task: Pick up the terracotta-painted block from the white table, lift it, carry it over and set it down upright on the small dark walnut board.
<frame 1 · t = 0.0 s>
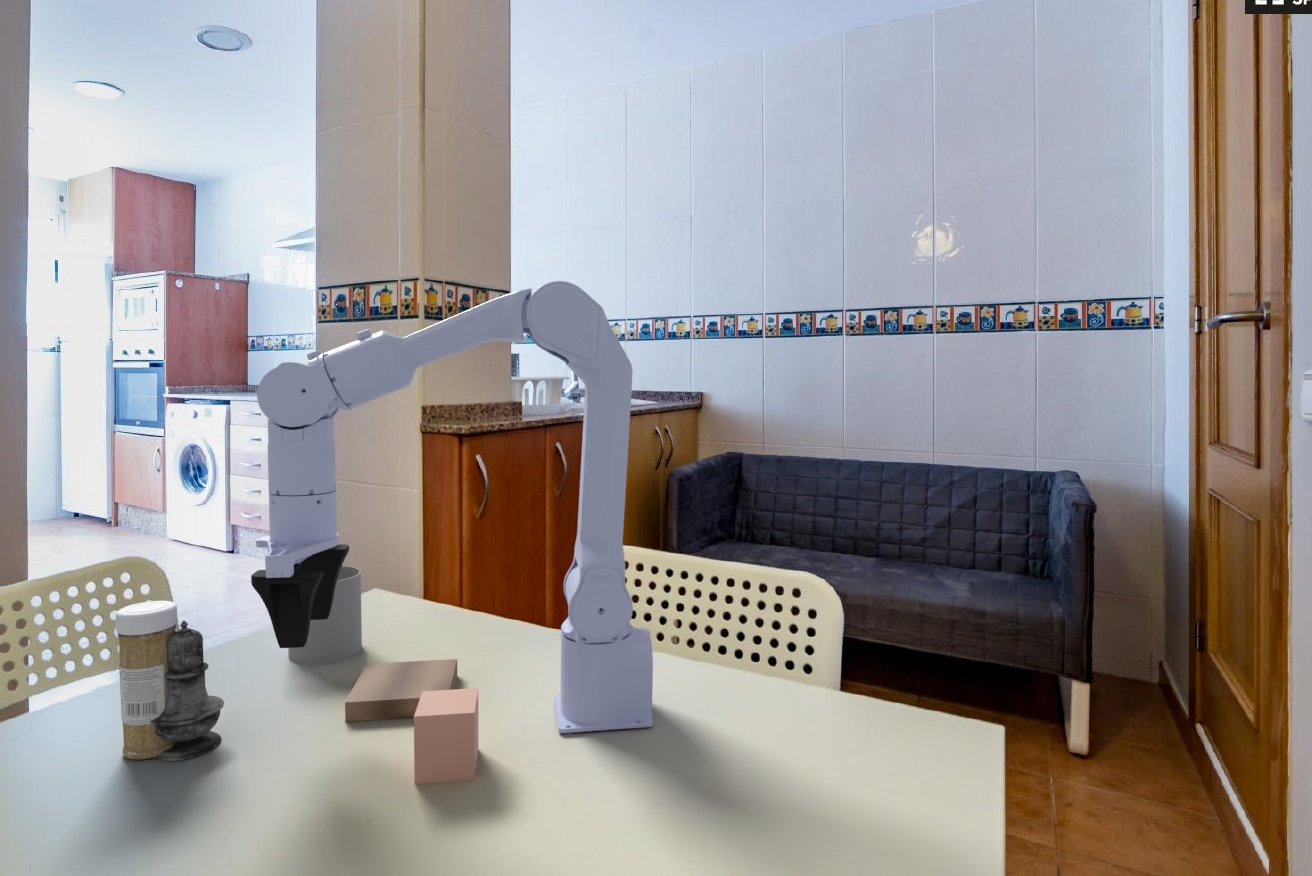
hand: (305, 631, 68), 10 cm above the table, tool pointing down, fingers open, 7 cm apart
sprinkles bottle: (152, 751, 65), on the table, touching salt shaker
cup: (326, 653, 90), on the table
board: (405, 696, 77), on the table
salt shaker: (188, 748, 66), on the table, touching sprinkles bottle
block: (447, 766, 63), on the table
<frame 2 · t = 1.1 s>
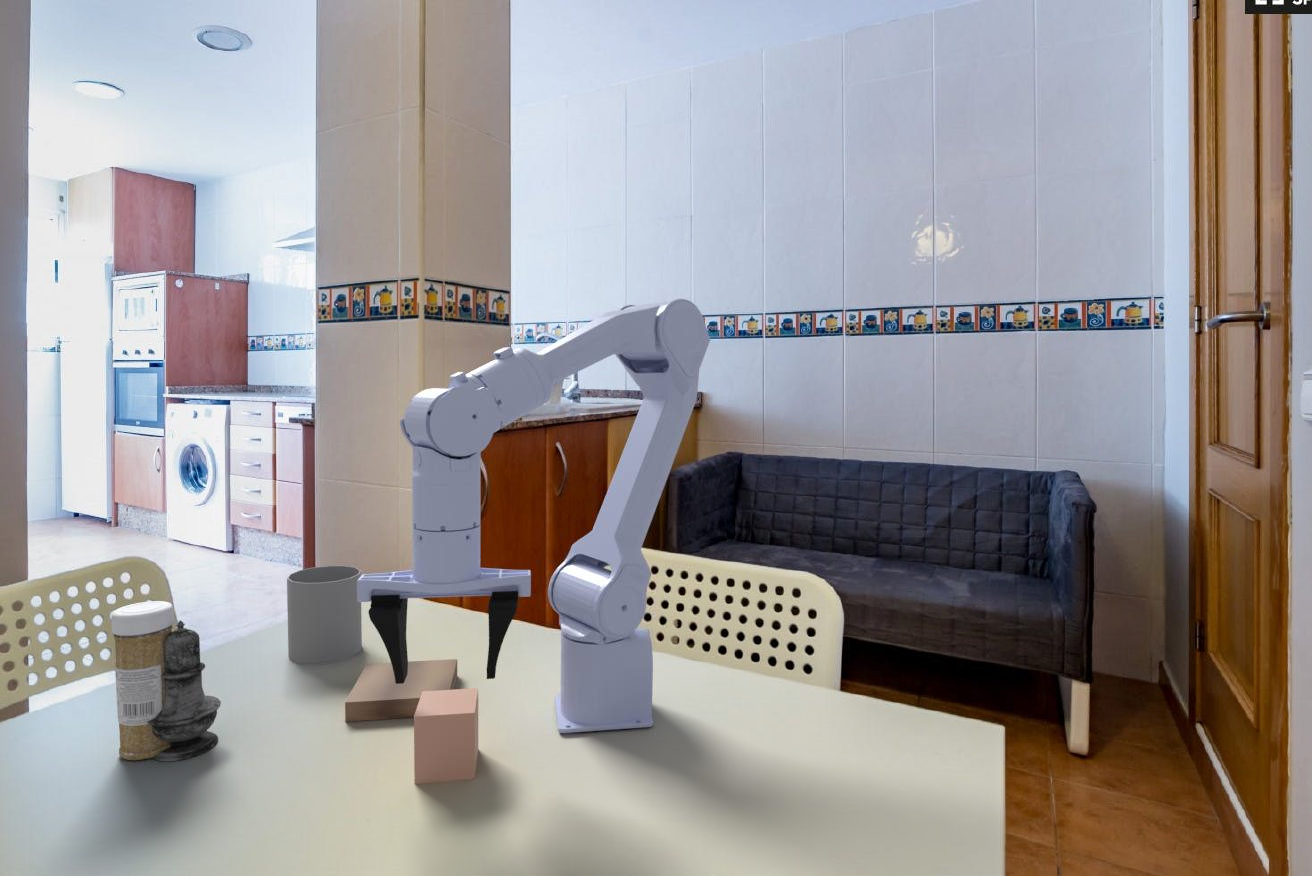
hand: (446, 676, 63), 8 cm above the table, tool pointing down, fingers open, 7 cm apart
nothing on the table moved.
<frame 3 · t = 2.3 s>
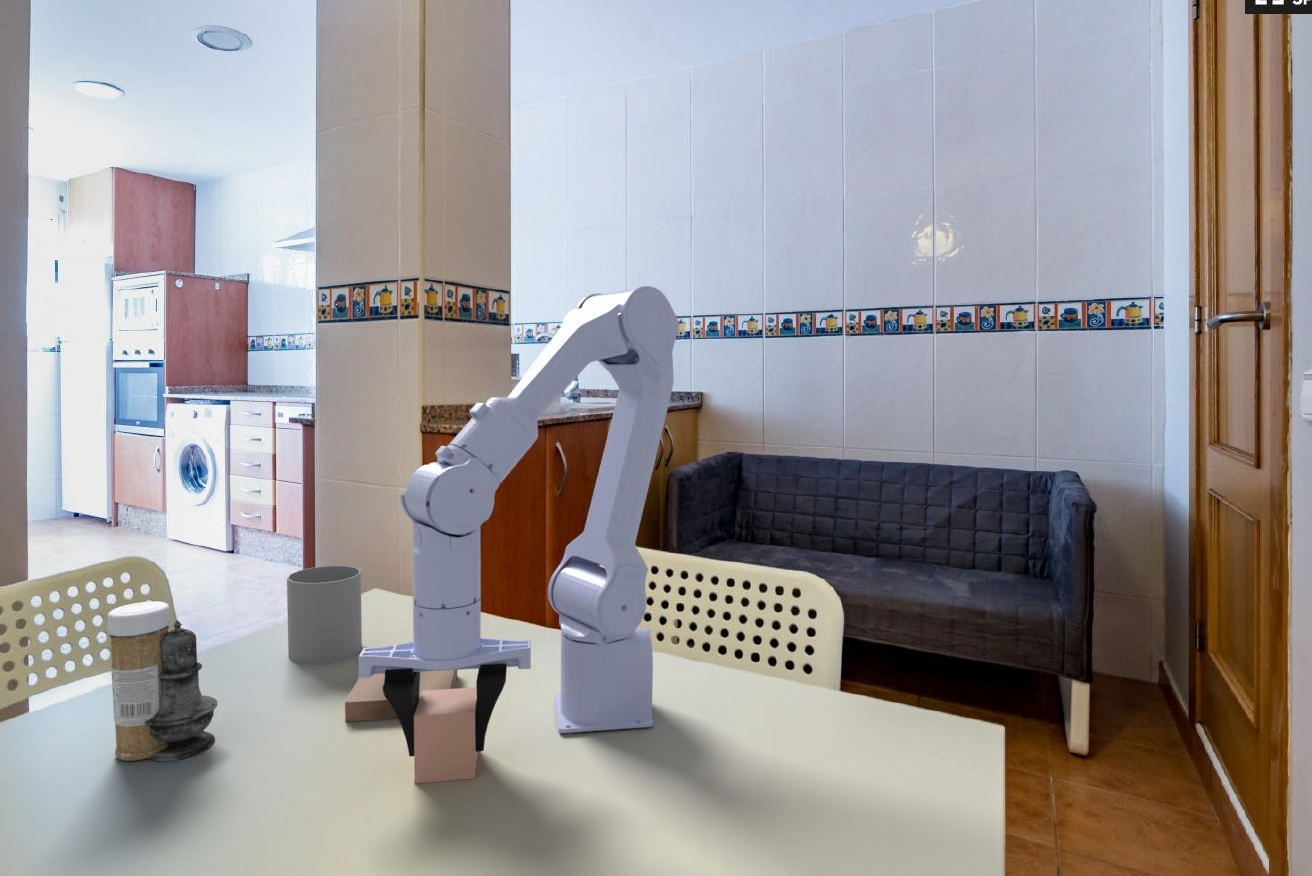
hand: (447, 748, 63), 2 cm above the table, tool pointing down, fingers closed on block, 5 cm apart
salt shaker: (181, 748, 66), on the table, touching sprinkles bottle
block: (447, 765, 63), on the table, touching gripper
everything else where it was.
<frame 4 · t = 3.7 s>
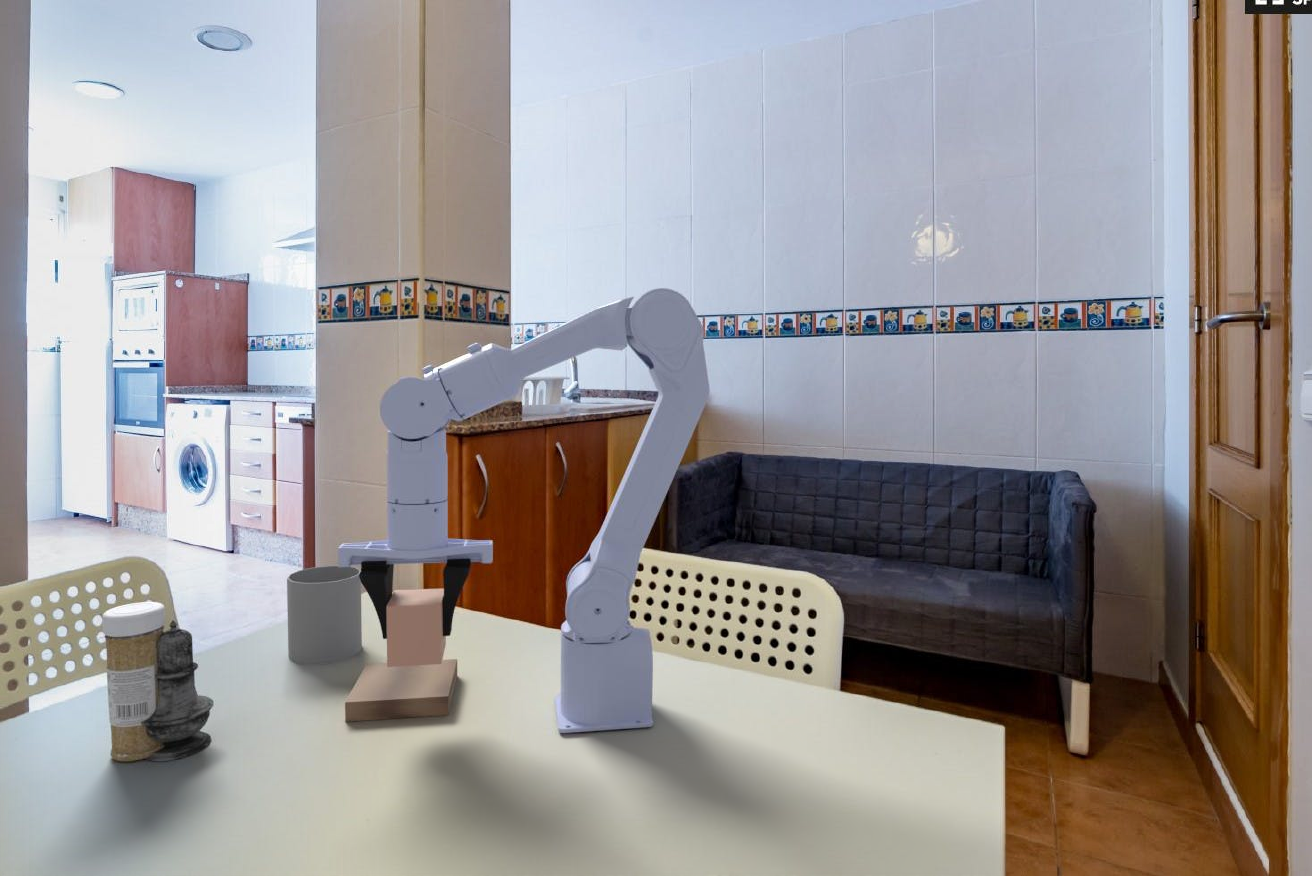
hand: (418, 634, 71), 9 cm above the table, tool pointing down, fingers closed on block, 5 cm apart
salt shaker: (177, 748, 66), on the table, touching sprinkles bottle
block: (417, 655, 71), point 7 cm above the table, touching gripper
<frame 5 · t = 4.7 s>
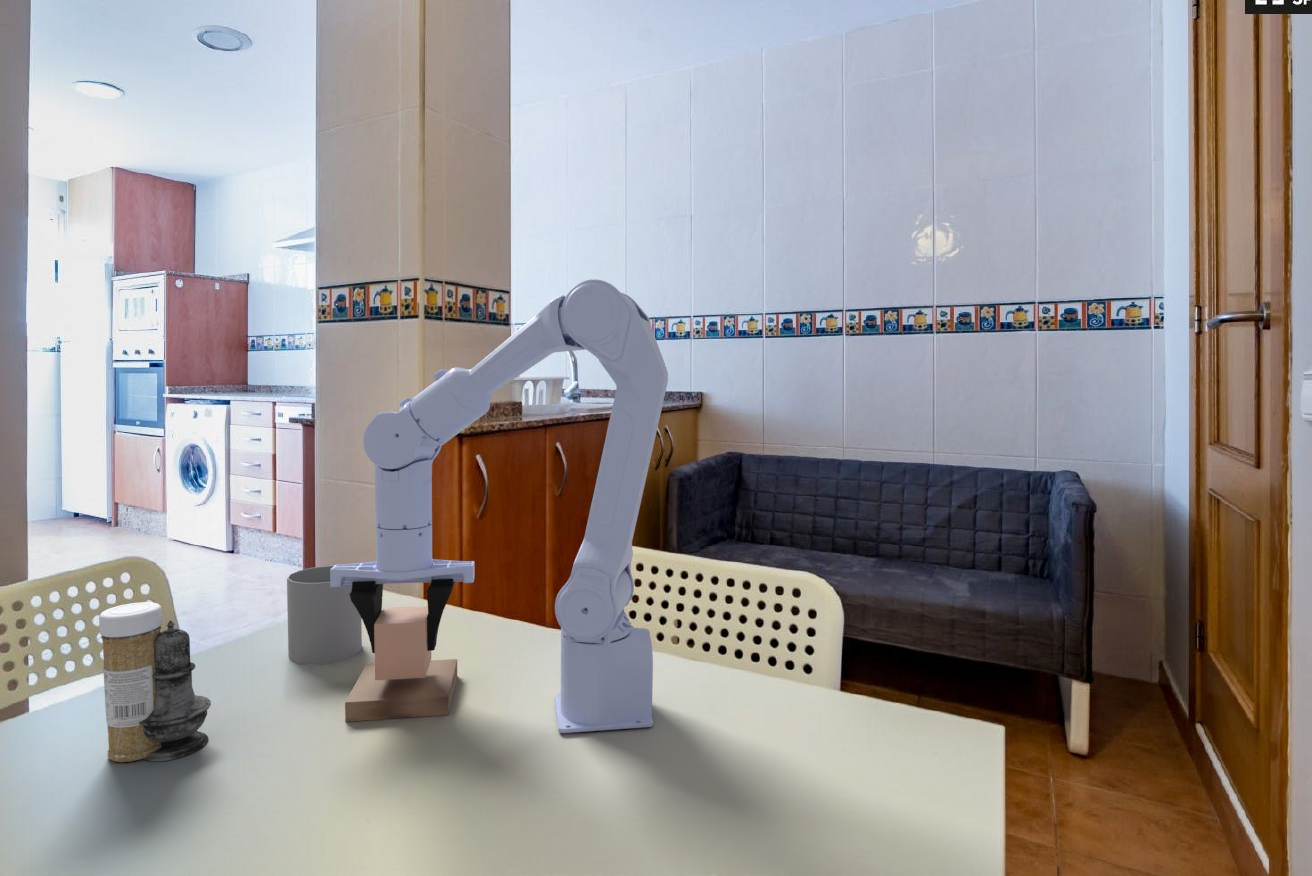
hand: (405, 648, 77), 5 cm above the table, tool pointing down, fingers closed on block, 5 cm apart
block: (404, 668, 76), point 3 cm above the table, touching gripper
when the fingers open (5 cm above the table, at t = 5.3 s): block stays where it is, resting on board.
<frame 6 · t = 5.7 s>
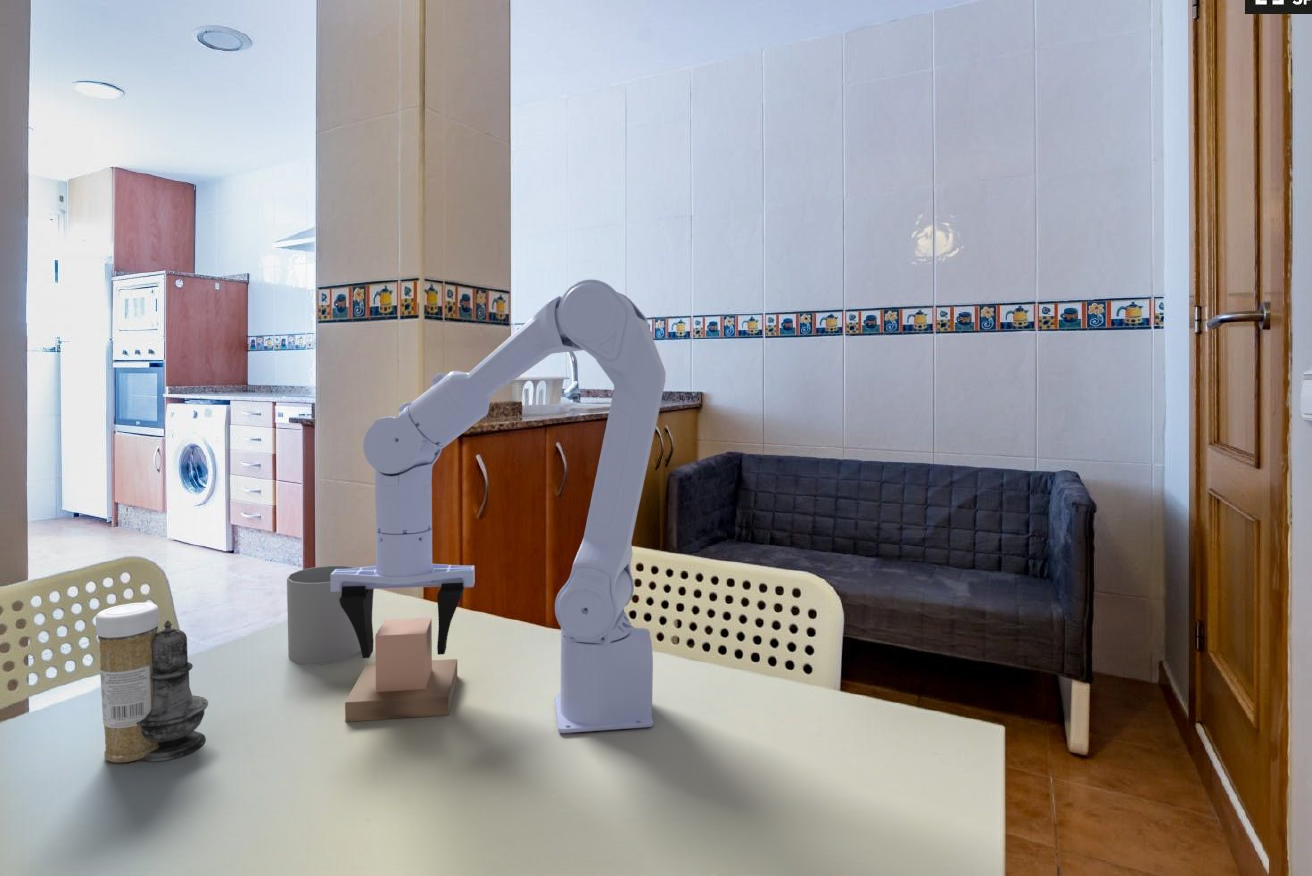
hand: (405, 653, 77), 5 cm above the table, tool pointing down, fingers open, 7 cm apart
block: (404, 680, 76), point 2 cm above the table, touching board
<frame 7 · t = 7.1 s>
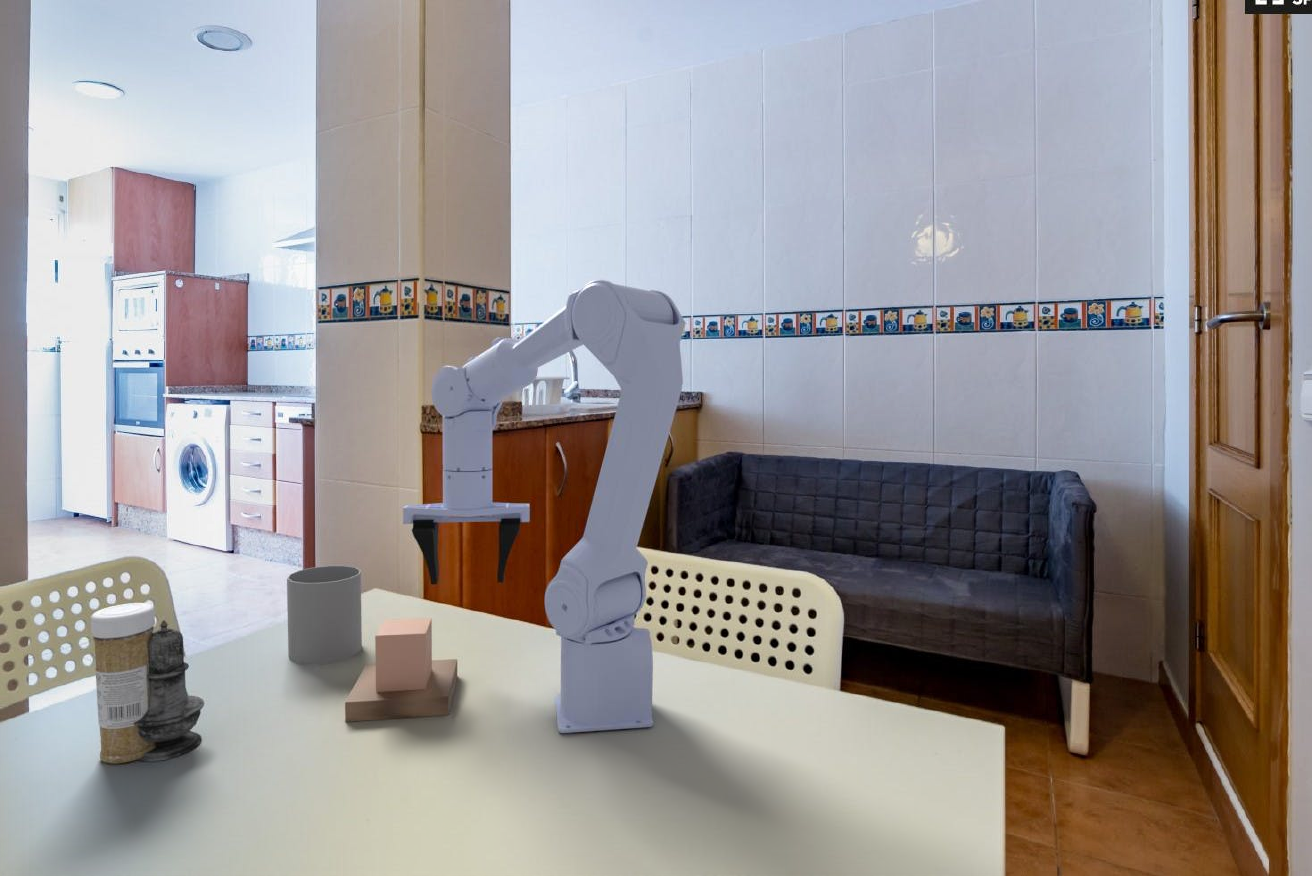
hand: (468, 581, 85), 10 cm above the table, tool pointing down, fingers open, 7 cm apart
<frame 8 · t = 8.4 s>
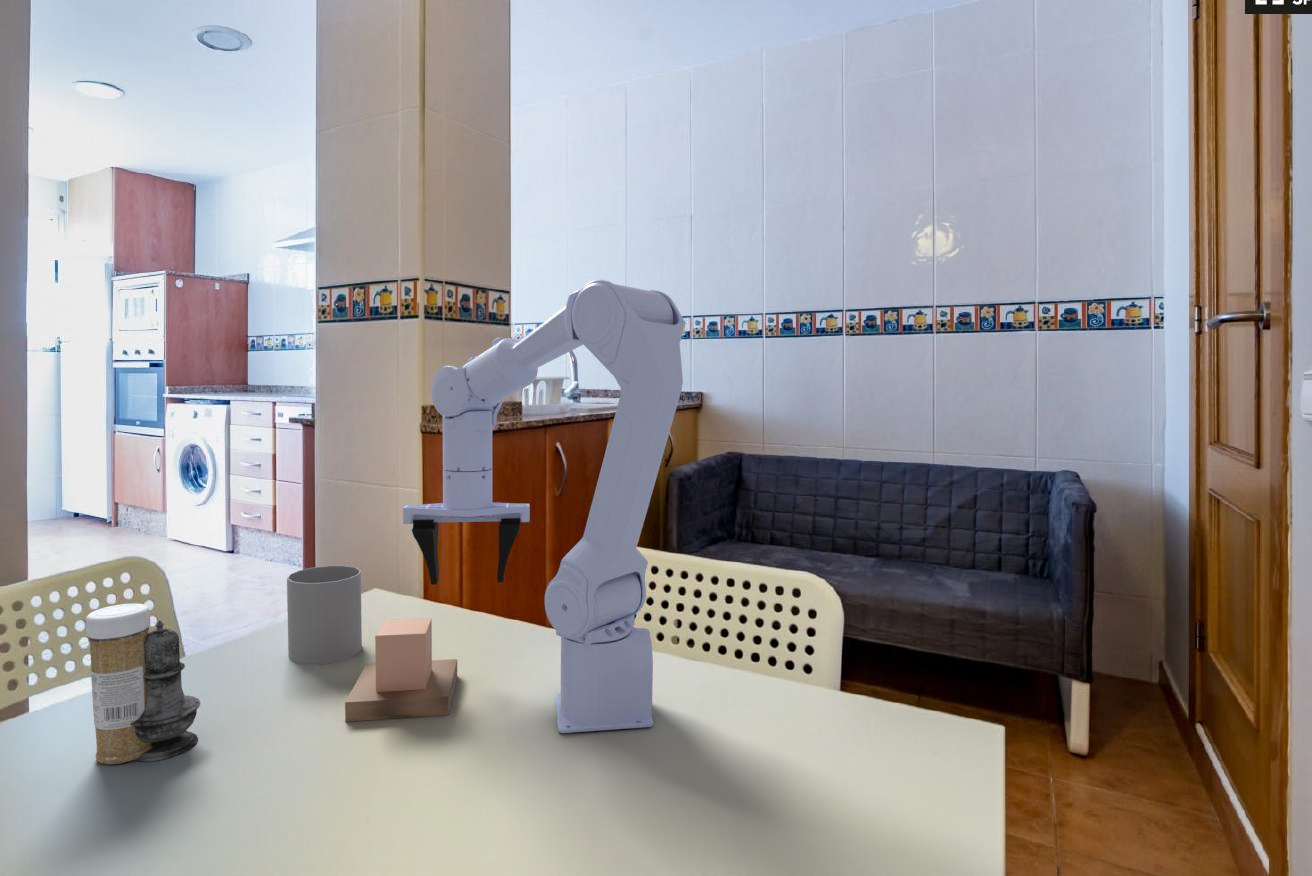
hand: (468, 581, 85), 10 cm above the table, tool pointing down, fingers open, 7 cm apart
salt shaker: (164, 748, 66), on the table, touching sprinkles bottle
at the end: block inside the target area on the board (0.4 cm from its centre), point 2.0 cm above the board's base; block tilted 0°; the gripper is holding nothing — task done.
